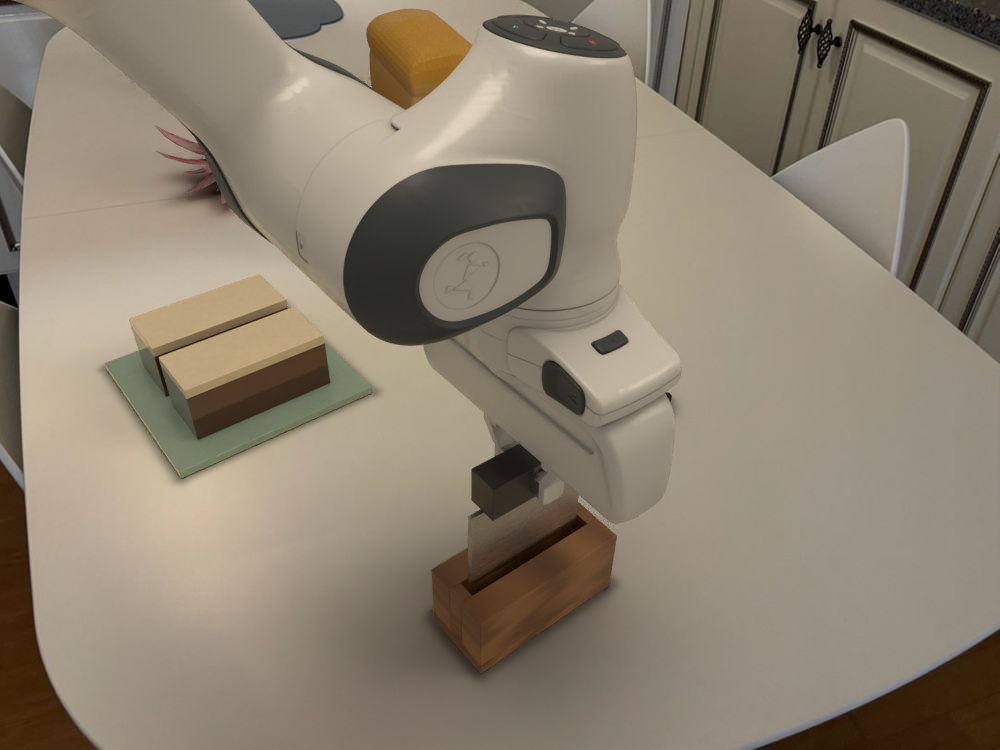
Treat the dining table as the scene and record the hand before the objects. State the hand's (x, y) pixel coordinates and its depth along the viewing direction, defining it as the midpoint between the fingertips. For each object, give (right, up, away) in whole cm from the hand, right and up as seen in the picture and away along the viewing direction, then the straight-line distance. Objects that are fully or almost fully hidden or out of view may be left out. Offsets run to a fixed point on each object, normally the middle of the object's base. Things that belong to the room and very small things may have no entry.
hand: (528, 478), depth 58 cm
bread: (-14, +50, +85) cm, 99 cm away
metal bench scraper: (0, -6, +5) cm, 8 cm away
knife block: (0, -11, +9) cm, 14 cm away
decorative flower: (-39, +34, +64) cm, 82 cm away
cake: (-29, +7, +29) cm, 42 cm away
